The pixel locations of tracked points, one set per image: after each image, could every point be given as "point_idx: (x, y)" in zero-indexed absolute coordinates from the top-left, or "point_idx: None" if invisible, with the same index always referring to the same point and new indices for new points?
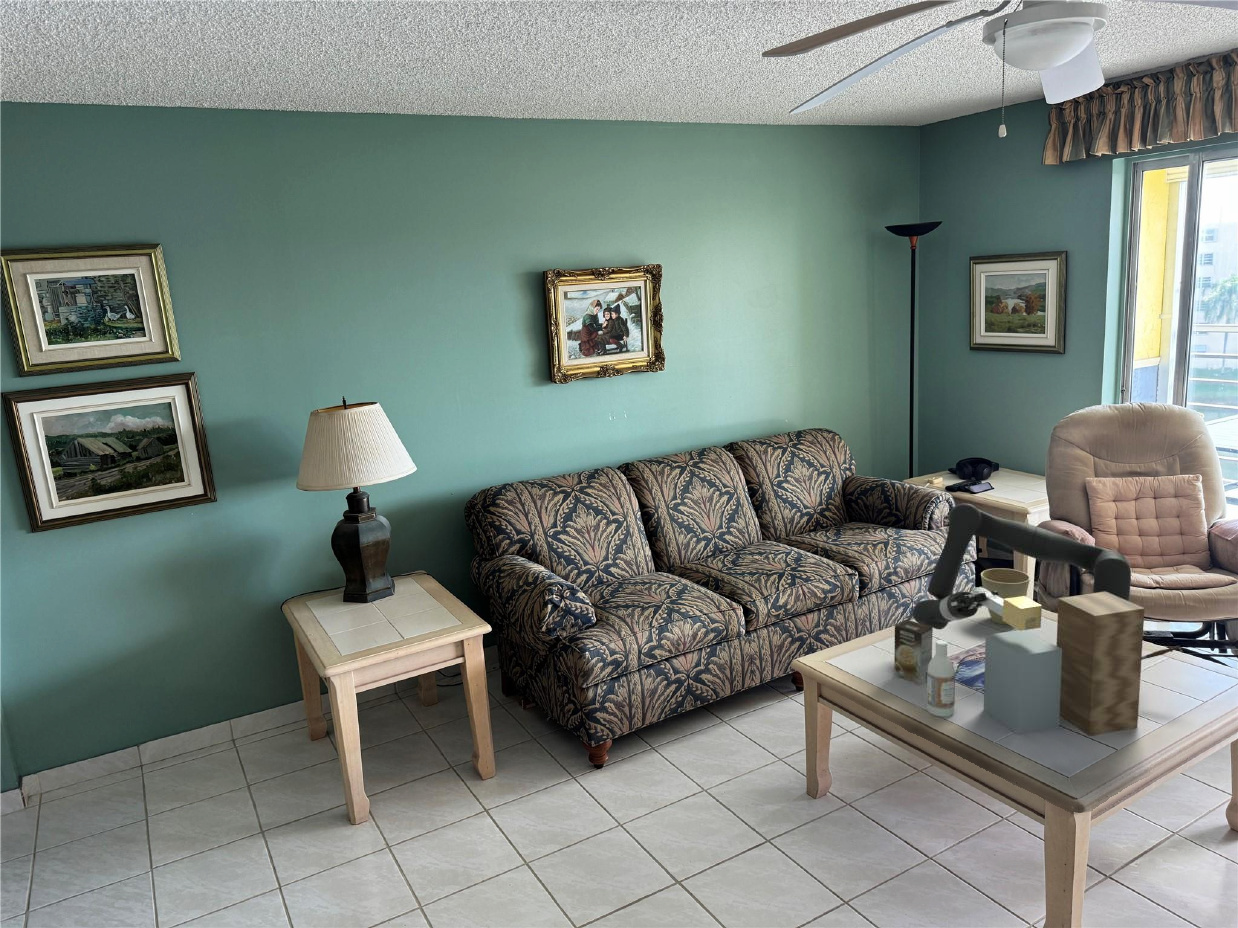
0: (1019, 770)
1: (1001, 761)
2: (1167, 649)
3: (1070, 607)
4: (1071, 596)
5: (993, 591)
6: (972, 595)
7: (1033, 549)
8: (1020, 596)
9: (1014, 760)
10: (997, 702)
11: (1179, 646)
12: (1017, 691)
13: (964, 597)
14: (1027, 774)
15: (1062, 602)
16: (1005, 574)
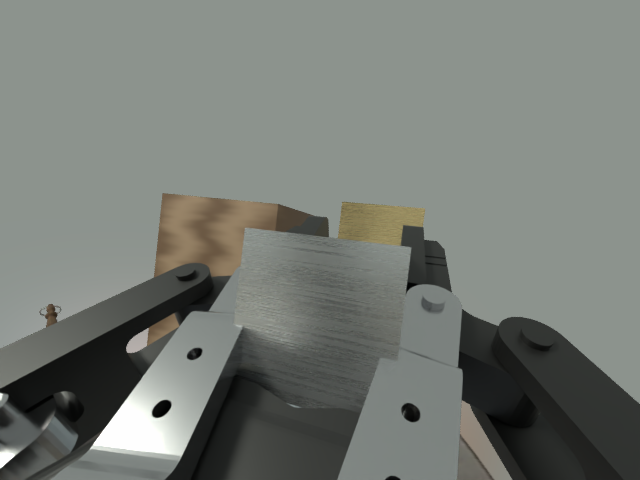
0: (468, 447)
1: (489, 477)
2: (53, 317)
3: (293, 217)
4: (243, 201)
5: (325, 221)
6: (457, 302)
7: None
8: (355, 203)
9: (463, 465)
10: None
11: (52, 304)
12: None
13: (575, 361)
14: (460, 437)
15: (283, 211)
16: None
